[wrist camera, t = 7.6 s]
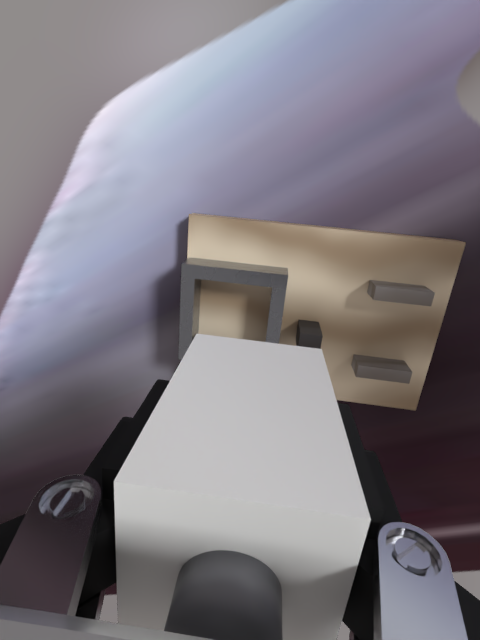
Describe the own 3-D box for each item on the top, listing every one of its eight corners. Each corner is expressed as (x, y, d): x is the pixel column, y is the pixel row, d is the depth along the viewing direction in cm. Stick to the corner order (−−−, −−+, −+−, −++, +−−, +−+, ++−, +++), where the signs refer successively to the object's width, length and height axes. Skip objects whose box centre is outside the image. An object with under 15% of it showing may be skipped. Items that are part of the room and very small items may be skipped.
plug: (196, 333, 13) (85, 532, 5) (321, 348, 13) (388, 580, 5) (190, 436, 14) (96, 704, 7) (302, 452, 14) (332, 748, 7)
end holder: (189, 257, 28) (181, 263, 26) (287, 268, 28) (288, 275, 25) (186, 346, 31) (178, 359, 29) (275, 357, 30) (274, 371, 28)
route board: (193, 213, 29) (178, 217, 24) (456, 239, 27) (488, 249, 23) (186, 371, 33) (172, 397, 29) (409, 400, 32) (429, 432, 28)
